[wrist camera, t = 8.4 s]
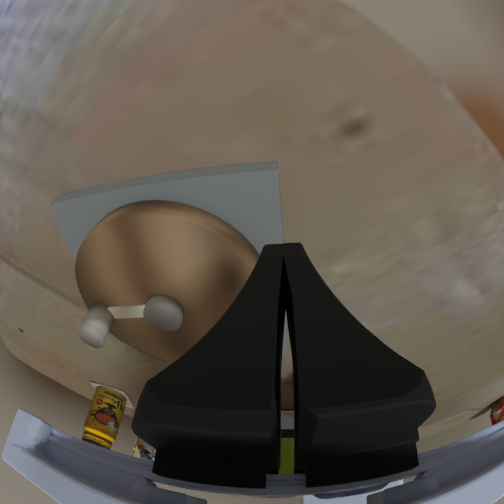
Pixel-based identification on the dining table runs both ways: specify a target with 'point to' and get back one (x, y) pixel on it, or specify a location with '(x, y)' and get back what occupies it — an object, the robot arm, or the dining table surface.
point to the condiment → (105, 415)
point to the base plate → (188, 192)
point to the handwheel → (160, 276)
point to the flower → (497, 412)
